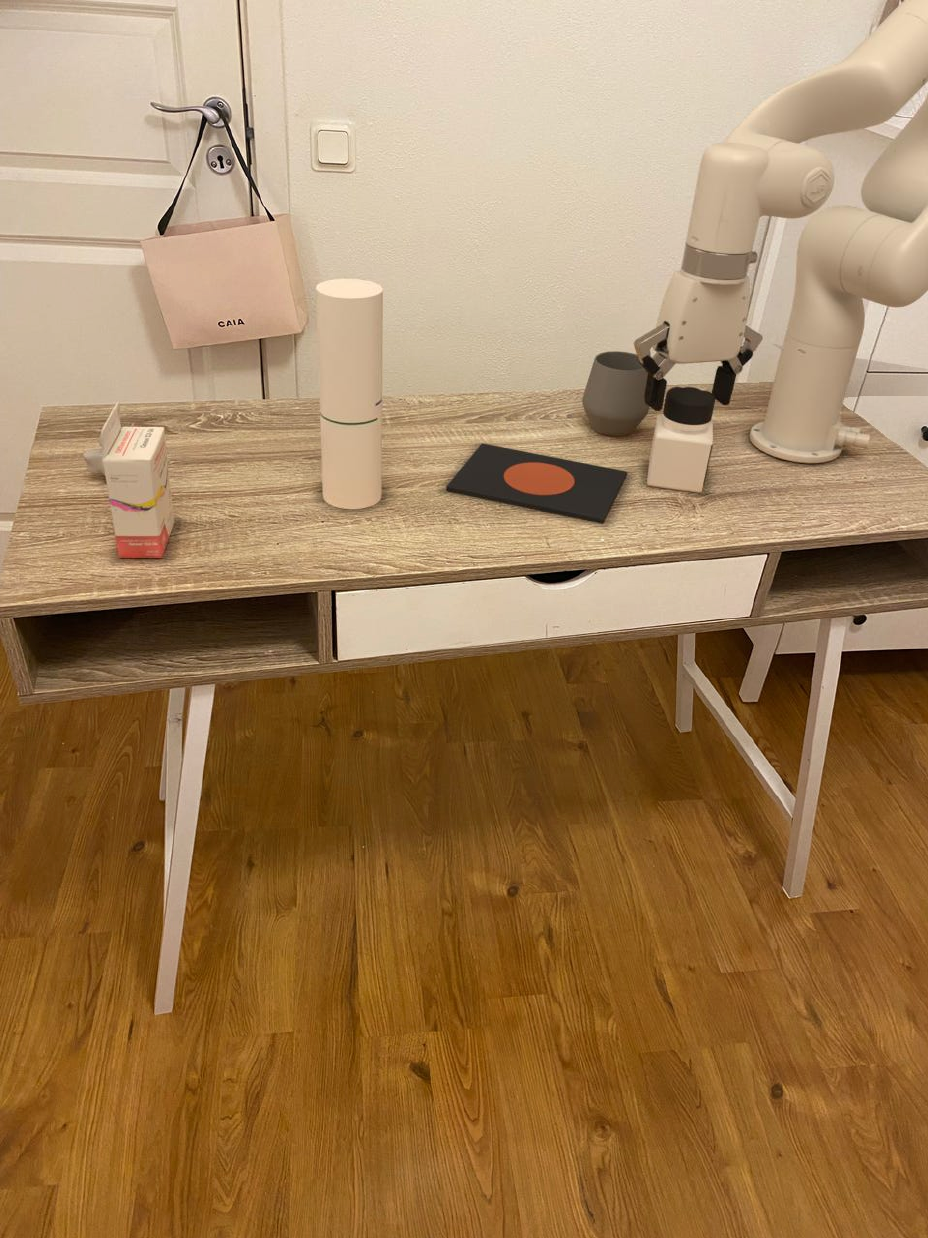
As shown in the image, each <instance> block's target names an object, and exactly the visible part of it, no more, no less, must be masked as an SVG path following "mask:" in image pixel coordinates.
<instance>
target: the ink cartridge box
mask: <svg viewBox="0 0 928 1238" xmlns="http://www.w3.org/2000/svg"><path fill="white" fill-rule="evenodd" d="M120 405H121V404H120V401H116V404H115V405H114V407H113V409H112V410H111V412H110V414H109V415H108V417H107V419H106V420H105V422H104V425H103V426H102V428H101V432H100V434H101V437H102V446H101V449H102V452H103V465H104V471H105V476H104V477H105V482H106V487H107V488H106V489H107V494H108V500H109V507H110V513H111V518H112V524H113V530H114V537H115V541H116V548H117V553H118V558H119V559H163V558H164V554H165V551H166V549H167V545H168V542H169V539H170V537H171V534H172V530H173V527H174V525H175V515H174V507H173V506H174V505H173V498H172V497H173V496H172V490H171V480H170V471H169V461H168V454H167V453H168V452H167V443H166V433H165V427H163V426H121V425H122V424H121V406H120ZM113 422H114V426H113V429H112V430H111V432H110V434H109V430H110V428H111V423H113Z"/></svg>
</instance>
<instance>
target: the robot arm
mask: <svg viewBox="0 0 928 1238" xmlns="http://www.w3.org/2000/svg"><path fill="white" fill-rule="evenodd" d="M927 83H928V0H903V1H901V3H900V4H899V5H898V6H896V8H895V9H894V10H893V11H892V12H891V13H890V14H888V16H886V18H885V19H884V20H883V21H882V22H881V23H880V24H879V25H878V26H877V27H876V28H875V29H874V30H873V32H871V33H870V34H869V35H868V36H867V37H866V38H865V39H864V40H863V41H862V42H861V43H859V44H858V46H857V47H856V48H854V49H853V50H852V52H850V54H848V55H847V57H845V58H844V59H843V60H842V61H840V62H838V63H835V64H833V65H830V66H829V67H826V68H824V69H821V70H818V71H817V72H815V73H813V74H810V75H809V76H806V77H804V78H803V79H800V80H798V81H796V82H794V83H791V84H790V85H788V86H786V87H784V88H781V89H780V90H778V91H776V92H774V93H773V94H771V95H770V96H768V97H767V98H766V99H764V100H762V101H761V102H760V103H759V104H758V105H757V106H756V107H755V108H754V109H752V111H750V112H749V114H748V115H746V117H745V118H744V119H743V120H742V121H740V122H739V124H737V126H736V127H734V128H733V130H732V131H730V133H729V134H728V136H727V137H726V138H725V140H724V141H723V142H717V143H713V144H711V145H709V146H708V147H706V149H705V150H704V151H703V152H702V155H701V159H700V163H699V169H698V172H697V173H698V174H697V179H696V185H695V190H694V196H693V202H692V205H691V211H690V217H689V222H688V227H687V233H686V239H685V244H684V249H683V254H682V260H681V265H680V270H674V271H673V273H672V275H671V278H670V280H669V282H668V284H667V287H666V289H665V292H664V296H663V298H662V302H661V306H660V309H659V313H658V317H657V319H656V325H655V328H653V329H651V330H650V331H648V332H647V333H645V334H643V335H642V336H639V337H638V338H636V339H635V340H634V341H633V346H634V349H635V354H637V356H638V361H639V363H640V364H641V365H642V366H643V368H644V370H645V371H646V372H647V373H648V377H647V382H646V388H645V393H644V398H645V403H646V404H647V405H648V406H650V407H649V408H650V409H652V410H654V411H655V412H660V411H663V408H664V402H665V397H666V392H667V384H668V380H667V379H665V377H666V375H667V374H668V373H669V372H670V371H671V370H672V368H673V367H674V366H675V365H676V364H677V365H679V364H680V365H685V364H698V363H699V364H700V363H701V364H702V363H713V362H714V363H715V362H720V363H721V365H718V366H717V368H716V371H715V376H714V380H713V385H712V389H711V393H712V394H713V395H714V397H715V401H717V402H718V403H720V404H722V405H723V406H729V405H730V402H731V398H732V394H733V392H734V387H735V383H736V377H737V375H739V374H741V373H742V372H743V369H744V366H745V365H746V364H747V363H748V362H749V361H750V360H751V359H752V358H753V357H754V352H756V350H757V348H758V347H759V346H760V344H761V343H762V341H763V335H762V334H760V333H759V332H757V331H756V330H754V329H753V328H751V327H750V326H748V325H747V321H748V315H749V314H748V313H749V305H750V295H751V294H750V292H751V291H750V290H751V283H750V282H751V278H750V277H749V275H748V271H749V267H750V265H751V264H755V263H757V261H758V258H759V257H758V253H757V251H756V250H755V251H753V249H754V245H755V241H756V236H757V233H758V227H759V221H760V219H761V217H763V216H765V217H766V216H767V217H774V218H783V219H801V218H804V217H807V216H810V215H811V214H814V215H812V217H811V218H810V219H808V221H807V222H806V223H805V225H804V227H803V229H802V231H801V233H800V236H799V239H798V242H797V243H798V244H797V250H796V264H795V265H796V266H795V267H796V268H795V282H794V293H793V297H792V298H793V299H792V303H791V308H790V313H789V318H788V323H787V326H786V330H785V334H784V338H783V342H782V346H781V351H780V355H779V359H778V363H777V367H776V370H775V371H776V372H775V375H774V379H773V383H772V384H773V385H772V389H771V392H770V397H769V401H768V406H767V409H766V413H765V418H764V420H763V421H760V422H757V423H755V424H754V425H753V426H752V427H751V429H750V432H749V440H750V442H751V444H752V445H753V446H754V447H755V448H757V449H758V450H759V451H761V452H763V453H765V454H767V455H769V456H772V457H774V458H778V459H780V460H783V461H788V462H793V463H801V464H821V463H827V462H831V461H834V460H835V459H837V458H839V457H840V456H841V453H842V450H843V446H844V445H848V446H849V445H850V446H852V447H855V448H861V449H868V446H869V443H870V439H871V434H868V433H863V432H861V430H862V428H861V427H855V426H848V425H845V424H844V423H842V422H841V418H842V414H841V411H842V407H843V405H844V402H845V401H844V400H845V398H846V394H847V390H848V387H849V382H850V379H851V375H852V372H853V369H854V366H855V361H856V358H857V355H858V351H859V348H860V344H861V342H862V338H863V334H864V329H865V321H866V320H865V316H866V314H865V313H866V312H865V306H864V300H867V301H869V302H873V303H876V304H879V305H881V306H885V307H891V308H904V307H907V306H910V305H912V304H914V303H915V302H917V301H918V300H919V299H920V298H922V297H923V296H924V295H925V294H926V293H927V292H928V93H927V94H926V97H925V98H924V101H923V102H922V105H920V107H919V108H918V110H917V111H915V113H914V115H913V116H912V117H911V119H910V120H909V121H908V122H907V124H906V125H905V126H904V127H903V128H902V129H901V131H900V132H899V133H898V134H897V135H896V136H895V138H894V139H893V140H892V141H891V142H890V144H888V145H887V147H886V149H884V151H883V152H882V153H881V154H880V156H879V157H877V159H876V160H875V162H873V164H872V165H871V166H870V168H869V170H868V171H867V173H866V175H865V177H864V178H863V181H862V183H861V188H860V197H861V201H862V203H863V204H864V206H865V208H866V209H864V208H862V207H857V206H851V205H832V206H828V207H825V208H823V209H820V208H821V207H822V206H824V204H825V203H826V202H827V201H828V199H829V198H830V196H831V194H832V192H833V188H834V184H835V169H834V166H833V163H832V161H831V160H830V158H829V157H828V156H827V155H826V154H825V153H823V152H822V151H821V150H819V149H817V148H815V147H812V146H809V145H805V144H802V143H803V142H806V141H810V140H811V139H812V140H813V139H815V138H818V137H822V136H823V137H824V136H827V135H833V134H840V133H847V132H853V131H858V130H862V129H863V130H864V129H867V128H871V127H875V126H878V125H882V124H884V123H886V122H888V121H889V120H891V119H892V118H893V117H894V116H895V115H897V114H898V113H899V112H900V110H901V109H902V108H903V107H904V106H905V105H906V104H908V103H909V101H910V100H911V99H912V98H913V97H914V96H915V95H916V94H917V93H919V91H920V90H921V89H922V88H923V87H924V86H925V85H927ZM819 209H820V210H819ZM818 210H819V211H818ZM817 211H818V212H817ZM815 212H816V213H815ZM863 299H864V300H863ZM651 349H652V350H653V351H655V352H656V353H654V354H653V356H652V355H651Z"/></svg>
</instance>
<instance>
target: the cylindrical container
mask: <svg viewBox="0 0 928 1238" xmlns="http://www.w3.org/2000/svg"><path fill="white" fill-rule="evenodd" d="M315 293H316V294H315V296H316V298H315V299H316V325H317V326H316V327H317V331H316V332H317V358H318V361H317V363H318V393H319V395H318V396H319V397H318V398H319V412H320V413H319V423H320V424H319V425H320V427H319V428H320V453H321V454H320V455H321V457H320V458H321V484H322V485H321V486H322V487H321V489H322V498H323V500H324V502H325V503H327V504H328V505H329V506H332V507H335V508H338V509H343V510H360V509H366V508H369V507H372V506H375V505H376V504H378V503H379V502H380V501H381V499H382V494H383V493H382V485H383V483H382V478H383V477H382V476H383V475H382V473H383V472H382V471H383V469H382V467H383V466H382V465H383V464H382V463H383V459H382V457H383V320H384V319H383V318H384V316H383V315H384V314H383V311H384V310H383V309H384V307H383V306H384V301H383V300H384V298H383V297H384V289H383V286H381V285H380V284H379V283H376V282H374V281H371V280H366V279H359V278H334V279H329V280H325V281H321V282H319V283H318V284H317V285H316V287H315Z"/></svg>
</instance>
